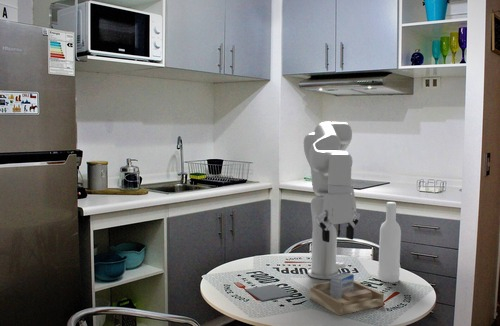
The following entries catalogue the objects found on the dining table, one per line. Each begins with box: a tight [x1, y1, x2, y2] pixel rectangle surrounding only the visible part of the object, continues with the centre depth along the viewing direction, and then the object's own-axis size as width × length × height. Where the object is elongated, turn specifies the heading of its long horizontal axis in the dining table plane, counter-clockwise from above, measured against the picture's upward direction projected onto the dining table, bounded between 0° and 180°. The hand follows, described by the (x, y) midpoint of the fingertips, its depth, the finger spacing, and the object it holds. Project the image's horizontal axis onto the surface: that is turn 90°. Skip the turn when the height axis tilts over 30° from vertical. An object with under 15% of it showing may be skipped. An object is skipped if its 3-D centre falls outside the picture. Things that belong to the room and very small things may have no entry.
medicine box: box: [330, 271, 355, 299], centre depth 172 cm, size 8×4×9 cm, turn 137°
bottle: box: [377, 201, 402, 283], centre depth 193 cm, size 8×8×30 cm
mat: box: [245, 283, 293, 302], centre depth 178 cm, size 12×12×1 cm
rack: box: [309, 280, 384, 316], centre depth 170 cm, size 18×16×5 cm
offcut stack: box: [337, 289, 373, 306], centre depth 166 cm, size 14×4×5 cm, turn 119°
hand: (337, 240), depth 170 cm, fingers open, 9 cm apart
